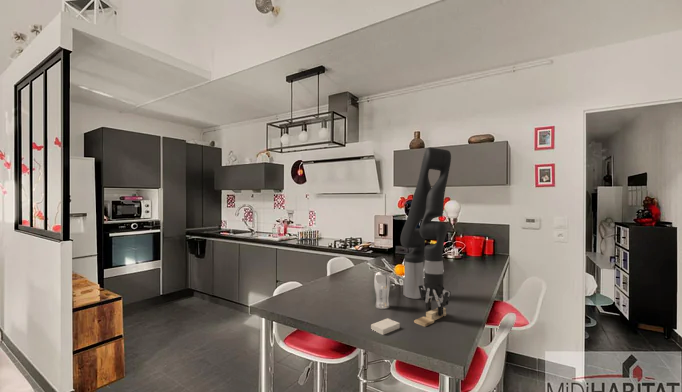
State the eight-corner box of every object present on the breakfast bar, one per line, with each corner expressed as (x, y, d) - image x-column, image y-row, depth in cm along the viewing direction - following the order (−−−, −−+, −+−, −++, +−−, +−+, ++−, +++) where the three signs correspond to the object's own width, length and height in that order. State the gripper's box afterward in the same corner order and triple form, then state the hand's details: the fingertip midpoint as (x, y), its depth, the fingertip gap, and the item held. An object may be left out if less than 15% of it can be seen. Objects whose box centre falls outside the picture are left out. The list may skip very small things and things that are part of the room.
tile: (387, 324, 120) (371, 330, 114) (387, 318, 120) (370, 324, 114) (399, 329, 115) (382, 336, 110) (399, 323, 115) (382, 329, 110)
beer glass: (372, 308, 136) (372, 274, 137) (376, 303, 143) (376, 271, 143) (388, 310, 134) (388, 275, 134) (391, 305, 140) (391, 272, 141)
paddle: (438, 313, 130) (437, 305, 130) (448, 316, 126) (448, 309, 126) (414, 322, 120) (414, 315, 120) (424, 326, 116) (424, 318, 116)
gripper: (413, 269, 128) (414, 311, 128) (444, 275, 117) (445, 321, 116) (424, 267, 133) (425, 307, 132) (455, 272, 121) (455, 316, 121)
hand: (434, 313), depth 124 cm, fingers open, 4 cm apart
